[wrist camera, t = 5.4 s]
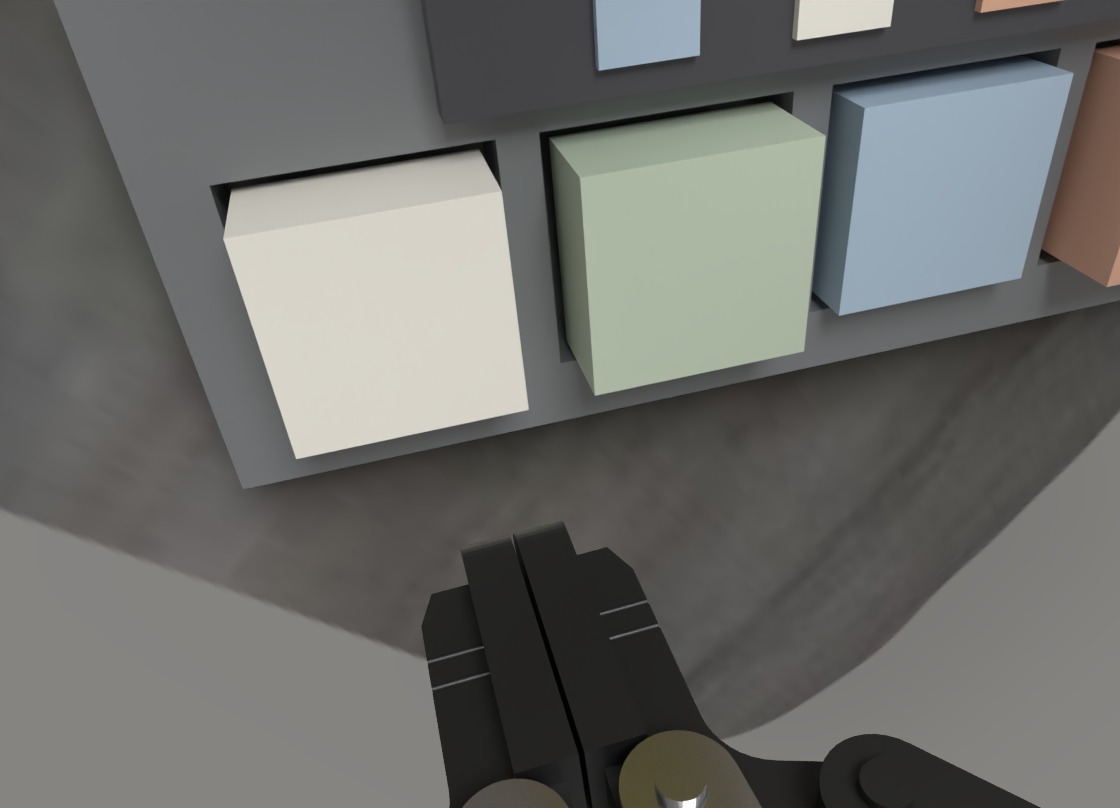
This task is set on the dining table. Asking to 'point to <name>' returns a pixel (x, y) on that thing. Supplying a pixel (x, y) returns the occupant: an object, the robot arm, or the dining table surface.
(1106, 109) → the block
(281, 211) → the key cream
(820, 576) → the dining table surface
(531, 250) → the keypad board
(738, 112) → the key sage
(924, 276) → the key blue
